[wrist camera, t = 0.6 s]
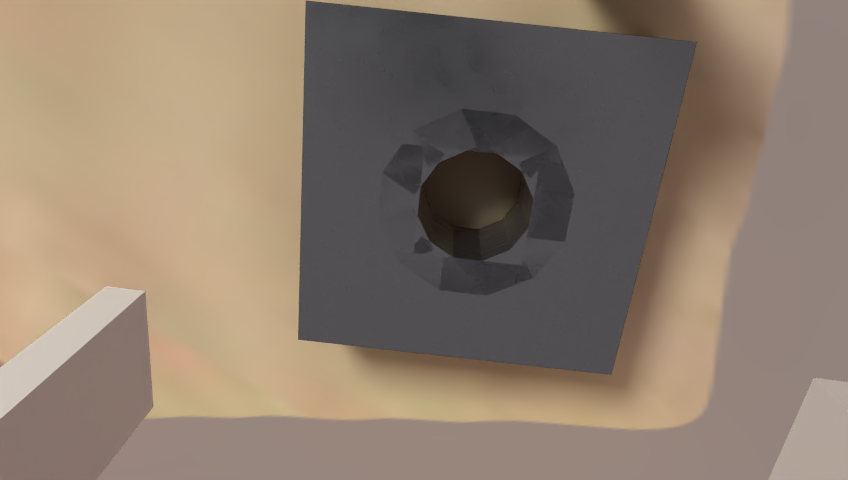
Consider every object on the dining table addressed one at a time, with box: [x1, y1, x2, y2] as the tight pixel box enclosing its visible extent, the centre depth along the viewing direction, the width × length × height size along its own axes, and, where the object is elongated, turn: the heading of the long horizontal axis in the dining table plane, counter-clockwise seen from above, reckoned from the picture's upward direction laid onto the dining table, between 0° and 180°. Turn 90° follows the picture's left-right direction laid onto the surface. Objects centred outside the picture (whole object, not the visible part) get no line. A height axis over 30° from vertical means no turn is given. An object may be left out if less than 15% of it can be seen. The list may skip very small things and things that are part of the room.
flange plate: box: [298, 1, 697, 375], centre depth 31 cm, size 18×18×5 cm
